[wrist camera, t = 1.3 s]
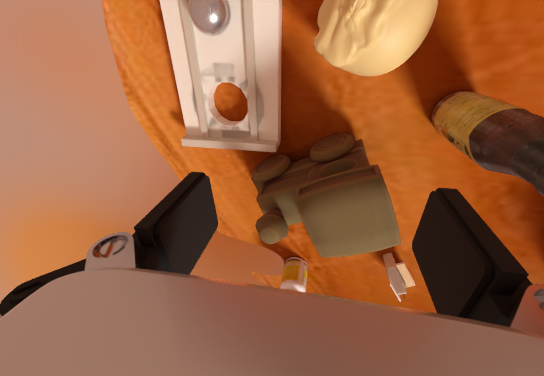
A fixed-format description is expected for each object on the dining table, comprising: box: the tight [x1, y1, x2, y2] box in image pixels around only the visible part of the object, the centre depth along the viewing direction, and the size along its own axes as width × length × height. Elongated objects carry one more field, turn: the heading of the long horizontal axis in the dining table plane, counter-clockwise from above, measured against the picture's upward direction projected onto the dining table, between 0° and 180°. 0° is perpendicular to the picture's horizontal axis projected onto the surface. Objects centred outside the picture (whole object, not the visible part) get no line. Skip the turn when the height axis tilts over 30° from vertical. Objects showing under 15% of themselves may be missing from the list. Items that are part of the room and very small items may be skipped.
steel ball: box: [188, 0, 231, 36], centre depth 29 cm, size 5×5×5 cm
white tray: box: [160, 0, 282, 152], centre depth 35 cm, size 24×16×4 cm, turn 1°
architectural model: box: [383, 252, 416, 302], centre depth 48 cm, size 3×7×7 cm, turn 34°
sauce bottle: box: [431, 91, 544, 196], centre depth 26 cm, size 7×6×20 cm
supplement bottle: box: [280, 257, 308, 292], centre depth 52 cm, size 5×5×10 cm
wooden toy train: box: [251, 133, 401, 257], centre depth 36 cm, size 20×11×17 cm, turn 115°
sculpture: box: [314, 0, 438, 76], centre depth 26 cm, size 12×12×11 cm
